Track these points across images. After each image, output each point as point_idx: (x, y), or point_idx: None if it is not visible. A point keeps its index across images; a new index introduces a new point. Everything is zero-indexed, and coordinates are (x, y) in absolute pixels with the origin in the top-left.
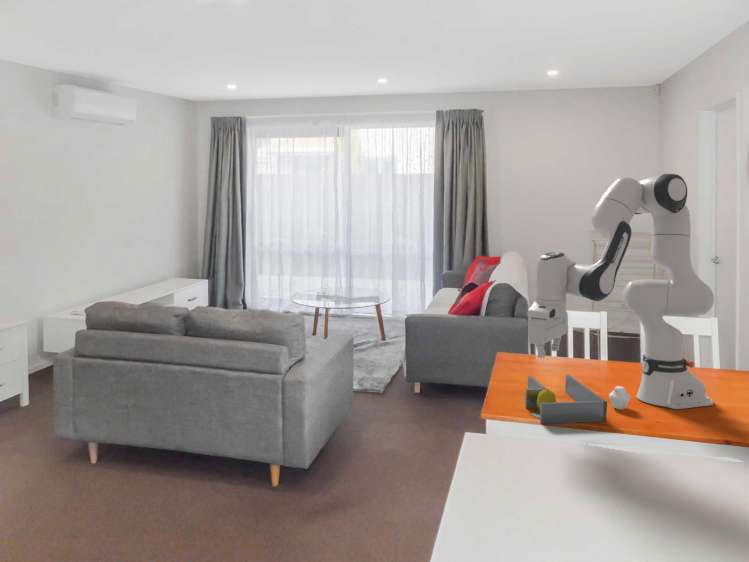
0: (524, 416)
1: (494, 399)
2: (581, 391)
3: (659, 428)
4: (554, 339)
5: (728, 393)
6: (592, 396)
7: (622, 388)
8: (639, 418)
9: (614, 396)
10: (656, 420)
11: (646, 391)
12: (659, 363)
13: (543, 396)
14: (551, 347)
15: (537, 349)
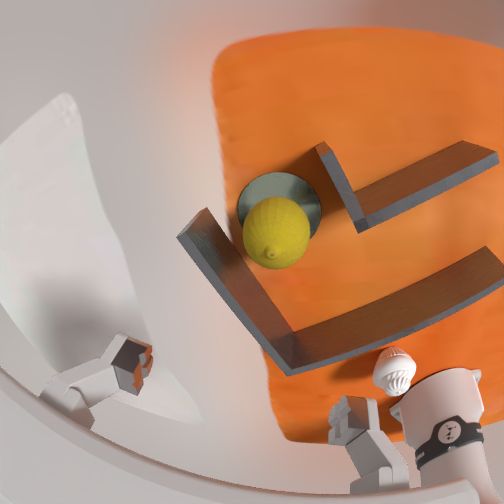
0: (236, 155)
1: (361, 36)
2: (410, 313)
3: (290, 396)
4: (381, 463)
5: None
6: (345, 347)
7: (390, 395)
8: (333, 380)
9: (381, 371)
10: (330, 395)
11: (428, 397)
12: (423, 458)
13: (245, 234)
14: (350, 410)
15: (82, 365)
